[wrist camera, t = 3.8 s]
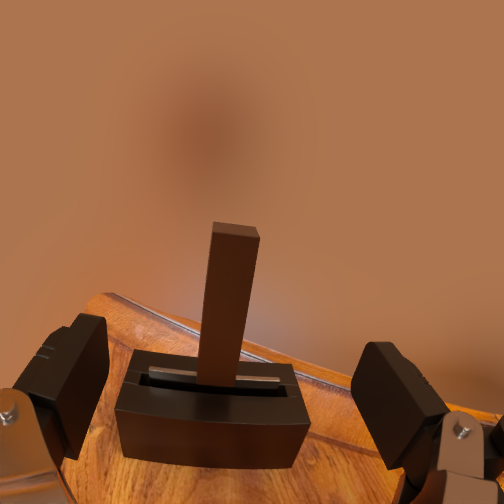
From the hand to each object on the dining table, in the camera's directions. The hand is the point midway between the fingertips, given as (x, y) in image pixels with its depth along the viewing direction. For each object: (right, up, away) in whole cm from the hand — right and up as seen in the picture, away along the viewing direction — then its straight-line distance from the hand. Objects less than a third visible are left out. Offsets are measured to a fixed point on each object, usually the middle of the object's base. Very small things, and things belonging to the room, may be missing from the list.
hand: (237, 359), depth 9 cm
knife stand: (-3, -10, +11) cm, 15 cm away
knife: (-3, -10, +11) cm, 15 cm away
